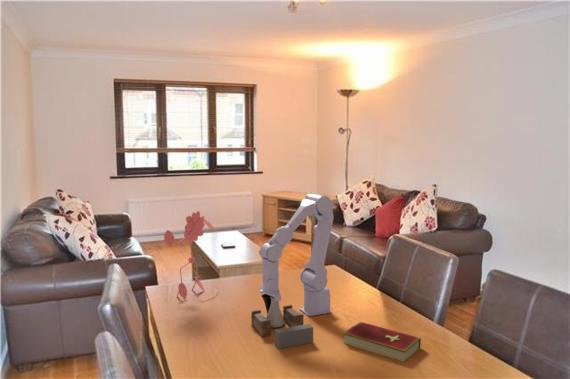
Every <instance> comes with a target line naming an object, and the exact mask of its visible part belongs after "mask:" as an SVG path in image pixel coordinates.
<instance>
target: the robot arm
mask: <svg viewBox="0 0 570 379" xmlns="http://www.w3.org/2000/svg"><path fill="white" fill-rule="evenodd" d="M333 208H334V202H333V200H332V199H331V198H330V197H329V196H327V195H323V194H316V193H314V192H309V193H307V195H305V197H304V198H303V199H302V200H301V202H300V205H299V207H298V209H297V210H296V211H295V213H294V214H293V215H292V216H291V218H290V219H289V220H288V222H287V223H286V225H282V226H280V227H278V228H276V230H275V231H276V232H275V233H274V234H273V235H272V236H271V238H270V239H268V240H267V242H265V243H264V244H262V246H261V247H260V250H258V253H259V256H260V257H261V258H262V259H261V265H262V272H261V273H262V275H261V276H262V277H261V280H262V283H260V289H259V290H258V292H259V294H261V297H262V300H263V302H264V305H265V310H266V315H267V314H268V311H269V308H270V305H271V298H270V296H273V298H274V299H275V301H279V302H280V301H282V295H281V292H280V288H279V285H280V284H279V279H280V278H279V276H280V274H279V264H280V263H279V262H280V259H281V258H282V255H283V251H284V249H285V248H286V246H287V245H288V244H289V243H290V241H291V240H292V239H293V237H294V232H295V230H296V229H297V228H298V227H299V226H300V225H301V224H302V223H303V222H304V221H305V220H306V219H307V217H309V216H311V217H312V216H314V217H315V218H316V219H317V224H316V227H315V233H314V238H313V242H312V248H311V252H310V256H309V261H308V262H306V263H305V264H304V267H303V270H302V271H301V273H300V282H301V283H302V284H303V307H299V310H300V311H302V312H303V314H305V315H306V316H308V317H312V316H318V315H323V314H324V315H325V314H330V313H332V310H331V291H330V289H329V288H328V287H327V285H328V277H327V276H328V270H327V268H326V265H325V262H326V261H325V260H326V257H327V251H328V247H329V242H330V238H331V237H330V236H331V232H332V229H333V228H332V227H333V224H334V223H333V222H334V218H335V217H334V211H333Z"/></svg>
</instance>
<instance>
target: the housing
mask: <svg viewBox="0 0 570 379" xmlns="http://www.w3.org/2000/svg"><path fill="white" fill-rule="evenodd" d="M282 307H283V308H282V317H283V319H284V322H286V323H287V324H288V325H289V327H294V326H299V325H305V324H304V322H305V321H304V319H305V318H304V314H305V313H299V312H298V311H296V310H295V308H293V305H292V304H289V305H283V306H282ZM250 312H251V318H250V319H251V327H254V329H255V330H257V332H258V333H259V334H260V336H261V337H267V336H271V334H272V327H271V320H270V319H266V317H265V315H263V314H262V309H257V310H251V311H250Z"/></svg>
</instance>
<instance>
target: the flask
mask: <svg viewBox="0 0 570 379" xmlns="http://www.w3.org/2000/svg"><path fill="white" fill-rule="evenodd" d="M270 298H271V305H270V308H269V311H268V314H267V313H266V317H265V318H266V319H270V320H271V328H282V327H283V326H284V325H285V322H286V321H284V319H283V313H282V311H281V308H280V303H279V302H280V301H275V299H274V298H273V296H270Z"/></svg>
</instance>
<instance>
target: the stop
mask: <svg viewBox="0 0 570 379" xmlns="http://www.w3.org/2000/svg"><path fill="white" fill-rule="evenodd" d="M312 343H314V327H313V325H311V324H310V323H305V324H304V325H299V326H294V327H292V326H288V327H284V328H282V327H281V328H278V329H274V346H275V347H276V348H277V349H278V350H280V349H284V348H291V347H296V346H301V345H306V344H312Z"/></svg>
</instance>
